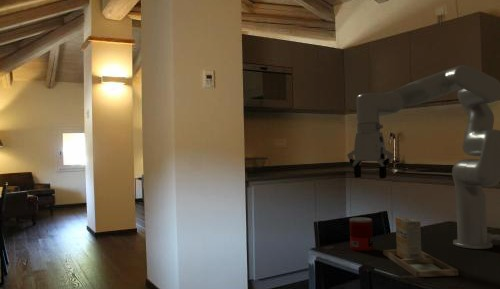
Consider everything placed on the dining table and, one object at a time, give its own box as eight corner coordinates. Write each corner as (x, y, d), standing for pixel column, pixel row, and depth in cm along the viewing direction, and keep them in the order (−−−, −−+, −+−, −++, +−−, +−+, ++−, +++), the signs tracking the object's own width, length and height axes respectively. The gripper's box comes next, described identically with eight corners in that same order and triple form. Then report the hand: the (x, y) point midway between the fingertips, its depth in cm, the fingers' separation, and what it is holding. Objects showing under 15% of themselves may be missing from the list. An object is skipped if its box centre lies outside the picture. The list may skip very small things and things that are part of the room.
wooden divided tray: (417, 253, 136) (417, 248, 136) (458, 275, 111) (458, 270, 111) (383, 254, 135) (383, 249, 135) (416, 277, 110) (416, 271, 110)
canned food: (374, 252, 139) (373, 220, 139) (350, 251, 140) (349, 220, 140) (372, 247, 146) (371, 217, 146) (349, 246, 148) (348, 217, 148)
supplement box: (396, 256, 133) (394, 217, 133) (409, 255, 133) (408, 216, 134) (407, 262, 125) (406, 221, 125) (422, 261, 125) (420, 220, 125)
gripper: (397, 127, 134) (398, 177, 134) (353, 130, 147) (354, 176, 147) (385, 127, 129) (387, 179, 129) (341, 130, 142) (342, 177, 142)
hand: (370, 177), depth 138 cm, fingers open, 9 cm apart
